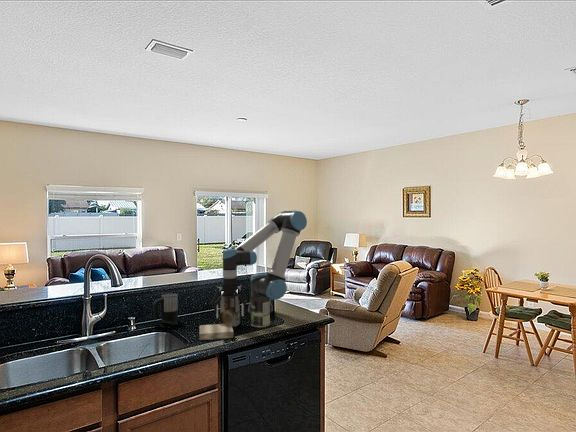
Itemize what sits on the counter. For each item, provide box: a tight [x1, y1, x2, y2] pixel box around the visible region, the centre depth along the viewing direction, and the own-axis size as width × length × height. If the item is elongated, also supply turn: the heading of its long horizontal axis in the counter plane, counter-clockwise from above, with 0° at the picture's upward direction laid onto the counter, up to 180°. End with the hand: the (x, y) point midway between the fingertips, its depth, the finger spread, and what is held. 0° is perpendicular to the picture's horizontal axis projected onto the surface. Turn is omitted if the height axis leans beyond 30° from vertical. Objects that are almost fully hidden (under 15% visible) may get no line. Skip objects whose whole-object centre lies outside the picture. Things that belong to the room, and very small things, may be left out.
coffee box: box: [219, 294, 241, 327], centre depth 200 cm, size 9×6×16 cm
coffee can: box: [250, 297, 271, 328], centre depth 199 cm, size 10×10×14 cm
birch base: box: [198, 323, 234, 341], centre depth 183 cm, size 16×14×3 cm
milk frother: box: [152, 292, 179, 327], centre depth 203 cm, size 14×16×15 cm
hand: (230, 316), depth 200 cm, fingers open, 13 cm apart
